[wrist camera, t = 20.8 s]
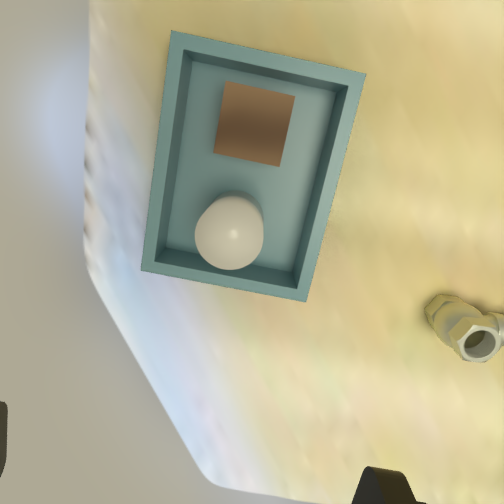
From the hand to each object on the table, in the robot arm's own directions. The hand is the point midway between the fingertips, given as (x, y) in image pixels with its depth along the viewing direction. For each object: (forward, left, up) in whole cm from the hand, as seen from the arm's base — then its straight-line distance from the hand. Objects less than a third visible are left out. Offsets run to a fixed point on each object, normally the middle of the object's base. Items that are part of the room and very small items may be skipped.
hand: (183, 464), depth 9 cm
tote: (-4, 0, -28) cm, 28 cm away
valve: (+5, +26, -28) cm, 39 cm away
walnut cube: (-8, 0, -27) cm, 28 cm away
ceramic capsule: (0, 0, -27) cm, 27 cm away
